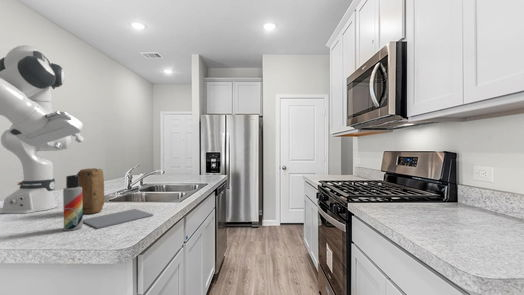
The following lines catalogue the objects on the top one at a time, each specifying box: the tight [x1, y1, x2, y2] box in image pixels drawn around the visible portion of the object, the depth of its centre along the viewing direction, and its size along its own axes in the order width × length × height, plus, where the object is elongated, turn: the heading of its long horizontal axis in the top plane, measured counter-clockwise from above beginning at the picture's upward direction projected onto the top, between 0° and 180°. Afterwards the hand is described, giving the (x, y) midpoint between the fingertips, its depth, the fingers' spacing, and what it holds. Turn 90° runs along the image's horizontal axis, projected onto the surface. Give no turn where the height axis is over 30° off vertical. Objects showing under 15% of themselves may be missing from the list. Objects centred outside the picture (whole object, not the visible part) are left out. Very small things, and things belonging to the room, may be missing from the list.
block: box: [76, 168, 105, 215], centre depth 118 cm, size 11×8×20 cm
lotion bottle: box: [62, 174, 84, 232], centre depth 95 cm, size 6×6×20 cm
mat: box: [83, 208, 154, 230], centre depth 108 cm, size 22×16×1 cm
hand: (70, 143), depth 93 cm, fingers open, 8 cm apart
